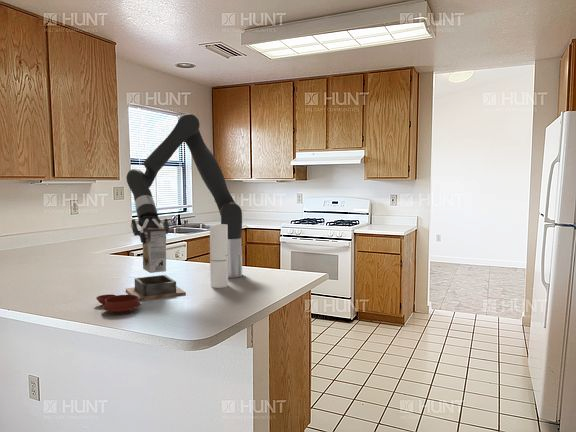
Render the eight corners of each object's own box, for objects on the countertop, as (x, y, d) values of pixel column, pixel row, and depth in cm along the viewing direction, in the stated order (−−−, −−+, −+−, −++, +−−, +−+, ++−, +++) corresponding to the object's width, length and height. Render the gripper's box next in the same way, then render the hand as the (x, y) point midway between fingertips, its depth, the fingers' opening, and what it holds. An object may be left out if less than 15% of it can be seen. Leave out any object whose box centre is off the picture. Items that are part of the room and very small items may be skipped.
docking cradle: (171, 285, 177) (171, 273, 177) (185, 294, 162) (185, 281, 161) (125, 290, 168) (125, 278, 167) (136, 301, 152) (135, 287, 152)
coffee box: (142, 269, 166) (141, 227, 165) (158, 267, 170) (158, 226, 169) (149, 273, 159) (148, 229, 157) (166, 271, 162) (166, 228, 161)
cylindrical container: (231, 284, 178) (230, 224, 177) (223, 288, 172) (222, 225, 170) (215, 283, 181) (215, 223, 179) (207, 287, 174) (206, 225, 172)
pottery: (113, 319, 132) (112, 305, 132) (85, 307, 146) (84, 294, 146) (147, 311, 141) (147, 298, 141) (118, 300, 155) (118, 288, 154)
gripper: (128, 203, 166) (136, 237, 157) (166, 202, 173) (175, 234, 164) (126, 216, 171) (133, 249, 161) (162, 214, 178) (171, 246, 169)
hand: (154, 241), depth 163 cm, fingers closed on coffee box, 6 cm apart
